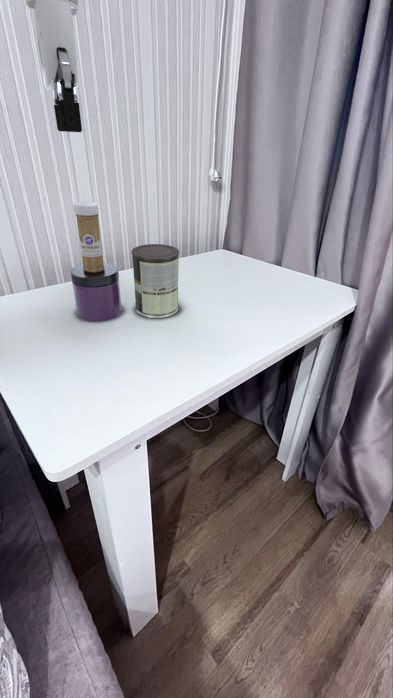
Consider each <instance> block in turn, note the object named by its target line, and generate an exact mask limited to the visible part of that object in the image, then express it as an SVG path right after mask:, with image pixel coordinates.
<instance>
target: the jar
mask: <svg viewBox="0 0 393 698" xmlns="http://www.w3.org/2000/svg"><path fill="white" fill-rule="evenodd" d="M71 285H72V290H73V296H74V301H75V306H76V308H75V309H76V312H77V313H76V314H77V316H78V317H79V318H80V319H81V320H84V321H87V322H105V321H111V320H113V319H115V318H117V317H119V316H120V315H121V314H122V311H123V310H122V309H123V308H122V298H121V287H120V277H119V278H118V280H117V281H115V282H113V283H111V284H108V285H104V286H95V287H89V286H81V285H77V284H75V283H74V282H73V281H72V280H71Z"/></svg>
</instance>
